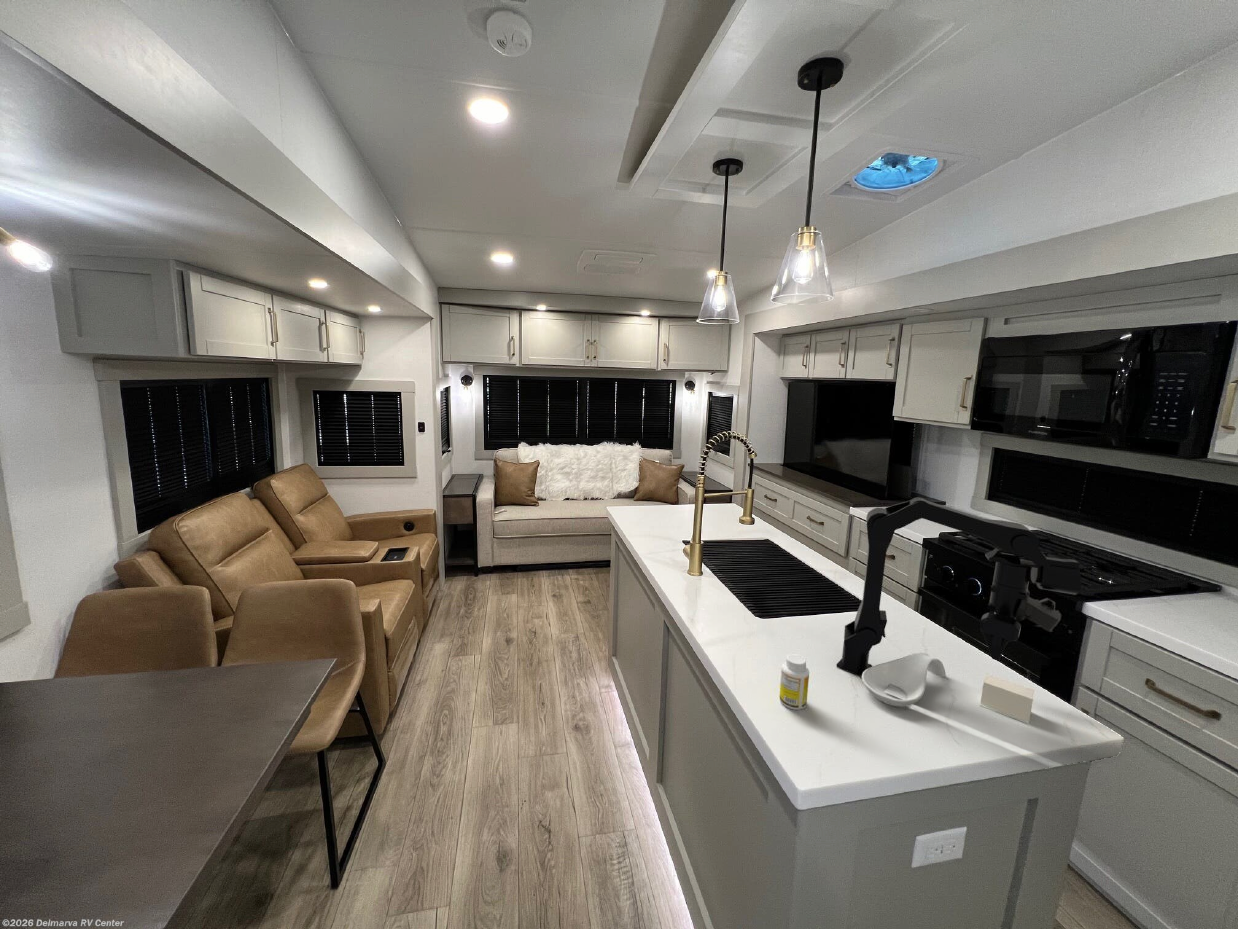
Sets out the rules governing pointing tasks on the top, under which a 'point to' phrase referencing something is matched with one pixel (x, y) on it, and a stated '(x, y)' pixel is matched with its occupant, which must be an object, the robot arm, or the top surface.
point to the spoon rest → (902, 677)
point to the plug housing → (1007, 697)
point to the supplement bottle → (794, 682)
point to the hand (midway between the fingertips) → (998, 651)
